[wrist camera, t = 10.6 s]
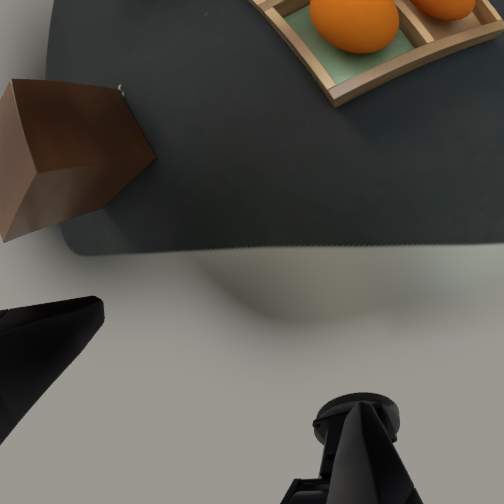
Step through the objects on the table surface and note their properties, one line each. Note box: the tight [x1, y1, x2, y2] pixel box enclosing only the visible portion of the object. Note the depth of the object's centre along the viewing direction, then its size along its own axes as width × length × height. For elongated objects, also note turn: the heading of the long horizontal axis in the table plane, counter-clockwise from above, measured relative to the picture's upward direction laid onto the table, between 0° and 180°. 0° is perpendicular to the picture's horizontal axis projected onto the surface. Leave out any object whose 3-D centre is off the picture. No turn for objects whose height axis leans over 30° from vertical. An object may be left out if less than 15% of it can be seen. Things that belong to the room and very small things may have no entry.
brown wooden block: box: [0, 79, 156, 243], centre depth 15 cm, size 7×7×10 cm
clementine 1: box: [310, 0, 399, 53], centre depth 10 cm, size 5×5×5 cm
